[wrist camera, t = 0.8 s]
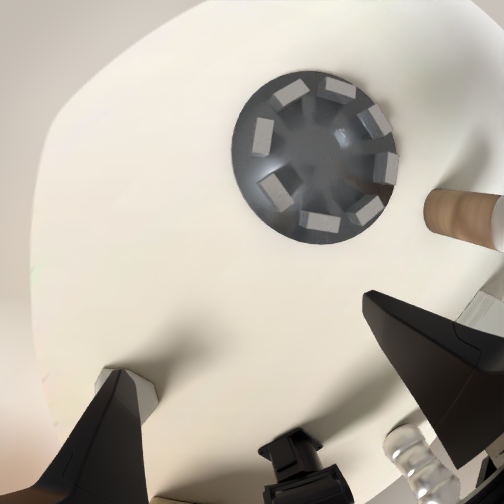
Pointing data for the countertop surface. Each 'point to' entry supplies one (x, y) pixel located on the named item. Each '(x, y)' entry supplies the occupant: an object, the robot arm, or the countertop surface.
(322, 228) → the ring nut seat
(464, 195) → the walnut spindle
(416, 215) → the countertop surface
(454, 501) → the plastic bottle
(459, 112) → the countertop surface
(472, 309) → the supplement box
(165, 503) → the flower pot
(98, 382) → the flask
